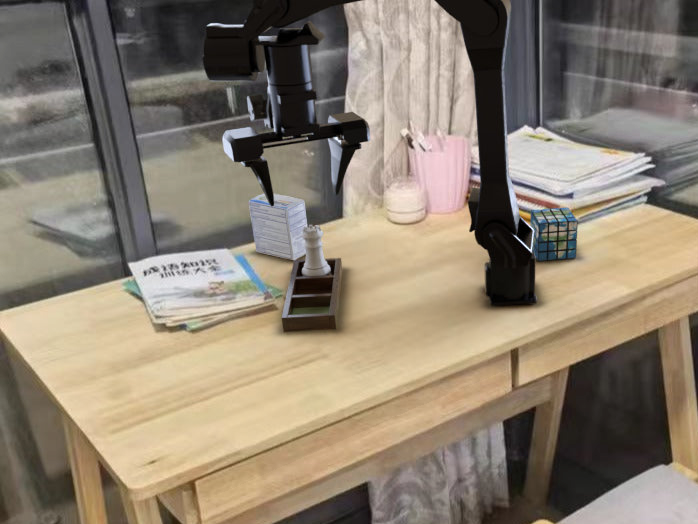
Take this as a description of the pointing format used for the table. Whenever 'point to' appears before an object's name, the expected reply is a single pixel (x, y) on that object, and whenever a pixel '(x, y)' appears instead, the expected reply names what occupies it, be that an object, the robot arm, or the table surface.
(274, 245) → the medicine box
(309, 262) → the rook chess piece
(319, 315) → the tray
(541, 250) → the puzzle
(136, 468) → the table surface
